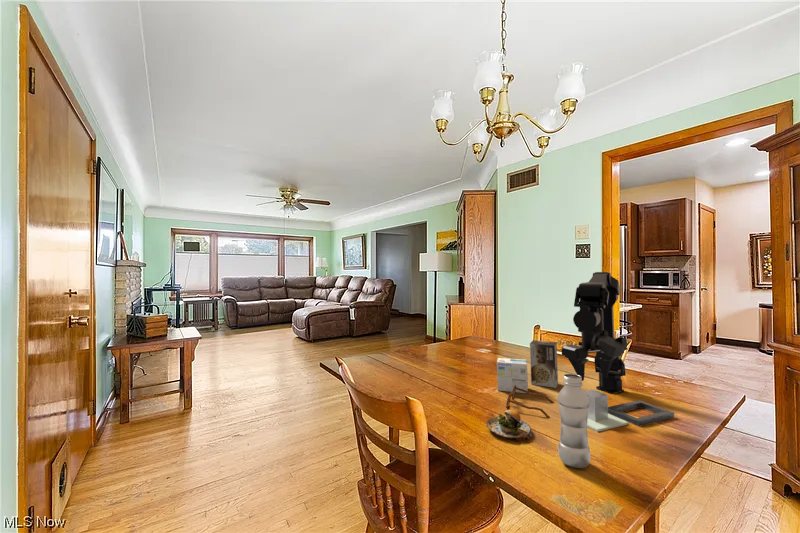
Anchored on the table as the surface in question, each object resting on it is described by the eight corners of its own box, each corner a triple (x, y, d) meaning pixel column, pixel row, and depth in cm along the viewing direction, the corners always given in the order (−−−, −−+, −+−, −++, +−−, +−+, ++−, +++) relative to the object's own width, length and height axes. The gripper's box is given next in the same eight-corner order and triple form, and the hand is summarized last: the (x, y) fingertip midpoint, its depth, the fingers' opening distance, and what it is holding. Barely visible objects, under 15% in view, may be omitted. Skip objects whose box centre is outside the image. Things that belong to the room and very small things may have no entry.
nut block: (580, 414, 99) (579, 391, 99) (592, 412, 101) (592, 389, 101) (595, 422, 94) (594, 397, 94) (608, 419, 96) (607, 395, 96)
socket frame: (606, 412, 102) (605, 407, 102) (639, 404, 107) (639, 400, 107) (639, 426, 93) (638, 421, 93) (674, 417, 98) (674, 412, 98)
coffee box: (558, 383, 128) (557, 341, 128) (556, 388, 123) (555, 345, 123) (533, 379, 133) (532, 339, 133) (530, 384, 128) (529, 342, 128)
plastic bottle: (552, 456, 78) (550, 372, 78) (579, 455, 79) (577, 371, 79) (568, 473, 72) (566, 381, 72) (598, 471, 72) (595, 380, 73)
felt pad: (561, 414, 101) (561, 412, 101) (591, 408, 105) (591, 406, 105) (597, 431, 90) (597, 429, 90) (628, 424, 94) (628, 422, 94)
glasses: (513, 396, 116) (513, 382, 116) (554, 403, 110) (553, 388, 110) (505, 411, 105) (505, 395, 105) (550, 419, 99) (549, 402, 99)
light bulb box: (527, 387, 124) (527, 359, 124) (528, 394, 118) (527, 363, 118) (498, 384, 128) (497, 357, 128) (497, 391, 121) (496, 361, 121)
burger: (482, 422, 97) (482, 397, 97) (522, 422, 97) (522, 396, 97) (492, 443, 85) (492, 414, 85) (539, 443, 85) (538, 414, 85)
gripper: (592, 332, 87) (594, 392, 87) (641, 327, 93) (643, 383, 93) (559, 326, 98) (560, 379, 97) (605, 322, 104) (606, 371, 104)
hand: (593, 378), depth 98 cm, fingers open, 9 cm apart
